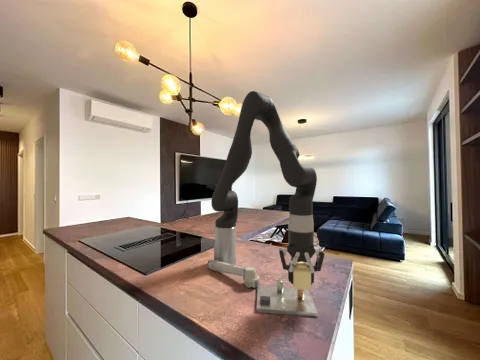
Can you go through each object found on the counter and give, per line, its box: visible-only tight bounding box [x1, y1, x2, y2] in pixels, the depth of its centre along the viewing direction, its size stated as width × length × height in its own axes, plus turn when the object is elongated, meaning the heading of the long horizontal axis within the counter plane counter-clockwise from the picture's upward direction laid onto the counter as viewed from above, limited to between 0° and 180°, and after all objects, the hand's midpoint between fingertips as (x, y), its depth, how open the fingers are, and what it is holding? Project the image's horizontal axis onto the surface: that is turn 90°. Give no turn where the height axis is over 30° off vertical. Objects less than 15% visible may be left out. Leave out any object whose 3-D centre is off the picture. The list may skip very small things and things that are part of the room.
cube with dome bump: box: [292, 262, 312, 291], centre depth 64 cm, size 5×5×7 cm
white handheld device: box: [206, 259, 260, 289], centre depth 80 cm, size 5×7×25 cm
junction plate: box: [256, 279, 319, 318], centre depth 65 cm, size 17×13×6 cm
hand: (301, 283), depth 64 cm, fingers closed on cube with dome bump, 5 cm apart
